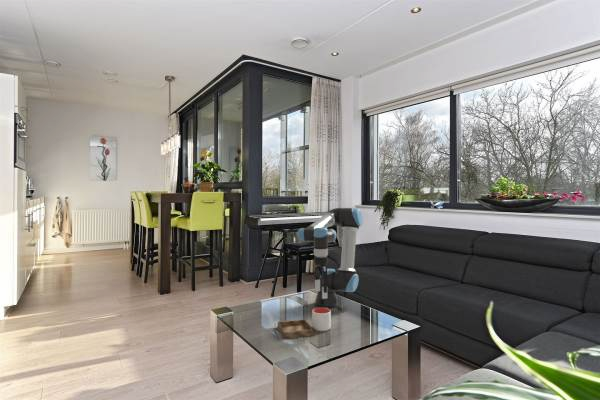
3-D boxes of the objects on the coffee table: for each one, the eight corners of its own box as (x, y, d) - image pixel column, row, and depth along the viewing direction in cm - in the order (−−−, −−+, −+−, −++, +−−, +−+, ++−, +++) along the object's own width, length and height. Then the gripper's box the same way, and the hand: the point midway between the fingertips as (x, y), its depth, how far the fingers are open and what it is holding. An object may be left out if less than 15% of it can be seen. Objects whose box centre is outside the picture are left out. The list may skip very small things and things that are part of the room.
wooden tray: (305, 324, 200) (305, 319, 200) (313, 335, 184) (313, 330, 184) (277, 327, 196) (277, 321, 196) (283, 338, 181) (282, 333, 181)
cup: (329, 332, 188) (329, 314, 188) (311, 331, 190) (310, 313, 190) (331, 325, 198) (331, 308, 197) (314, 324, 200) (313, 307, 199)
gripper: (308, 252, 204) (308, 289, 204) (320, 260, 180) (321, 302, 180) (320, 251, 206) (321, 288, 206) (334, 259, 181) (335, 301, 182)
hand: (321, 294), depth 193 cm, fingers open, 13 cm apart
